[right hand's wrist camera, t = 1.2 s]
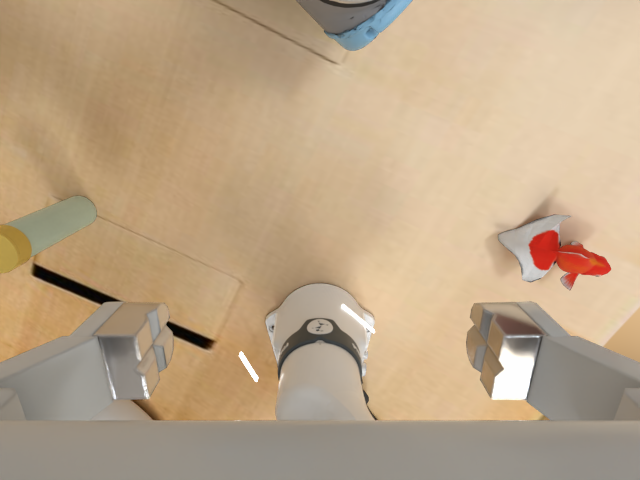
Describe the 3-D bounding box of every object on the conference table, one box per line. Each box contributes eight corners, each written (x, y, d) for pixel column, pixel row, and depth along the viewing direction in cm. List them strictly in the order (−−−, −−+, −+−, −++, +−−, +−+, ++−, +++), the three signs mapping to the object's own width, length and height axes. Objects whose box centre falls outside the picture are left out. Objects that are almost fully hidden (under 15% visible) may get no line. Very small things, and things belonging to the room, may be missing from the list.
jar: (73, 189, 58) (-16, 223, 42) (102, 208, 59) (25, 247, 43) (60, 213, 59) (-31, 254, 44) (88, 230, 60) (9, 277, 45)
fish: (564, 314, 60) (598, 316, 50) (476, 258, 64) (492, 250, 54) (602, 259, 60) (643, 251, 51) (512, 207, 64) (534, 189, 55)
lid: (-4, 215, 44) (-21, 222, 42) (39, 241, 45) (25, 249, 43) (-20, 248, 45) (-38, 256, 43) (21, 272, 47) (7, 281, 44)
